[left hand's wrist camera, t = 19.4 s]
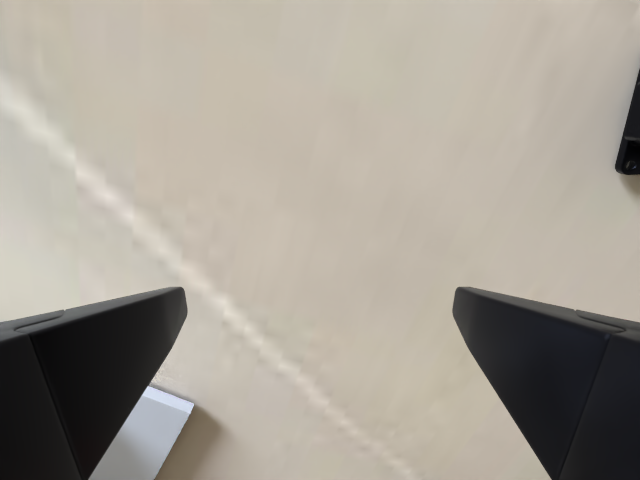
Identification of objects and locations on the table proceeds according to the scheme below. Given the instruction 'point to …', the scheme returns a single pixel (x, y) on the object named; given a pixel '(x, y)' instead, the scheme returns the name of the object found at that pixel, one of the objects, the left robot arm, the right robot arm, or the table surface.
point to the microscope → (144, 438)
